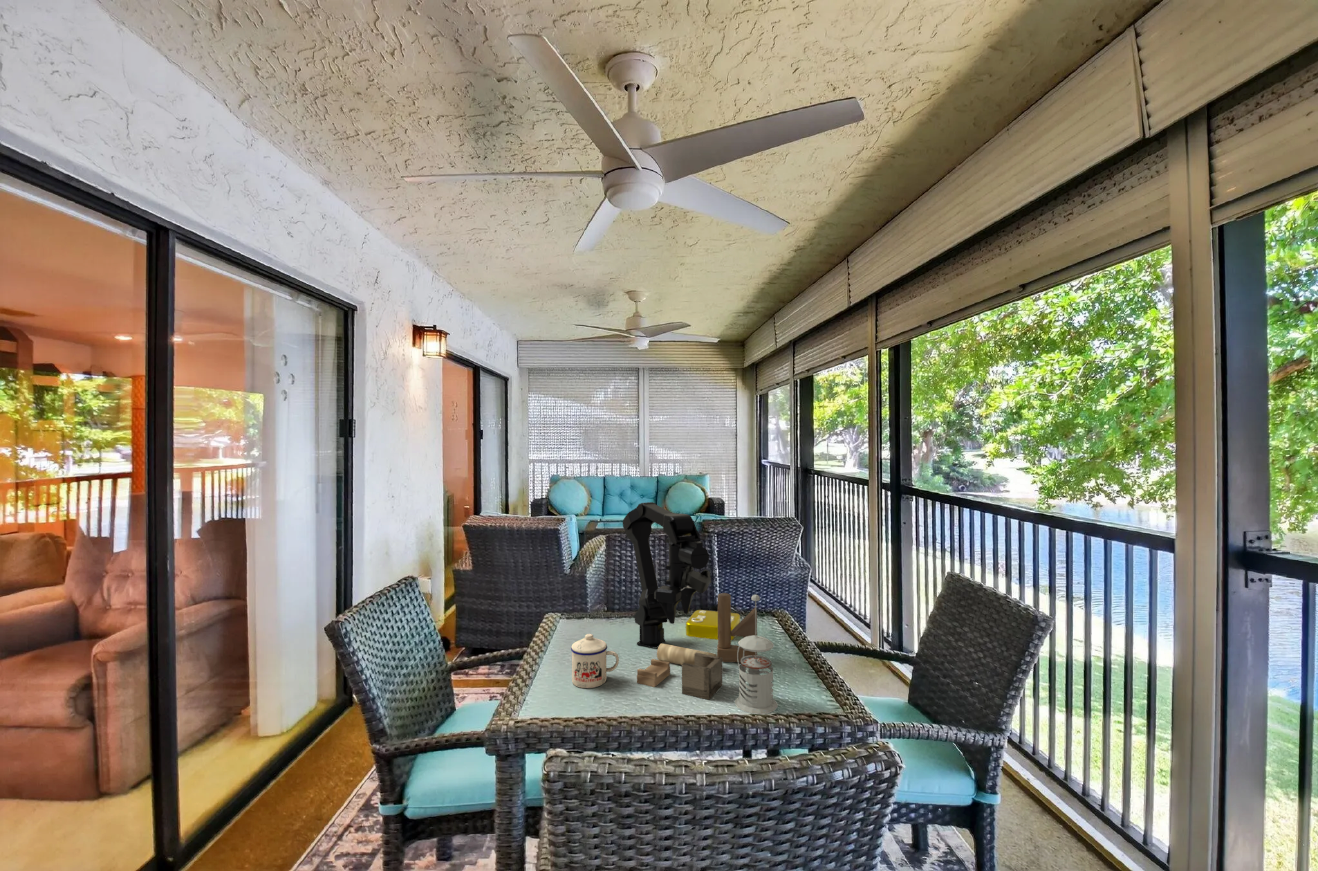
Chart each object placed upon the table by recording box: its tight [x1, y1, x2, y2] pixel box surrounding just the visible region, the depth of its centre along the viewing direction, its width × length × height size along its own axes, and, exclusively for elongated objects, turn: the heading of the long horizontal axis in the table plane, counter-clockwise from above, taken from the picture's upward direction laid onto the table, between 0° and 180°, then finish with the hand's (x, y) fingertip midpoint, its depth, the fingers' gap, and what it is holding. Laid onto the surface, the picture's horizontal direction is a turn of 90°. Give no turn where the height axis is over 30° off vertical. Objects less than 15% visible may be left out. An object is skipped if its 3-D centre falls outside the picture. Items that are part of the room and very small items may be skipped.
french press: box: [734, 594, 779, 715], centre depth 130 cm, size 10×12×25 cm
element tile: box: [685, 609, 741, 641], centre depth 178 cm, size 15×15×5 cm
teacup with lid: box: [570, 633, 620, 689], centre depth 142 cm, size 12×9×12 cm
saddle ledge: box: [636, 658, 671, 688], centre depth 143 cm, size 5×8×3 cm, turn 152°
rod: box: [656, 643, 717, 666], centre depth 152 cm, size 16×4×4 cm, turn 62°
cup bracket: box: [681, 653, 724, 701], centre depth 136 cm, size 7×8×7 cm
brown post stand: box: [716, 592, 758, 663], centre depth 154 cm, size 4×11×18 cm, turn 86°
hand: (679, 618), depth 153 cm, fingers open, 9 cm apart
